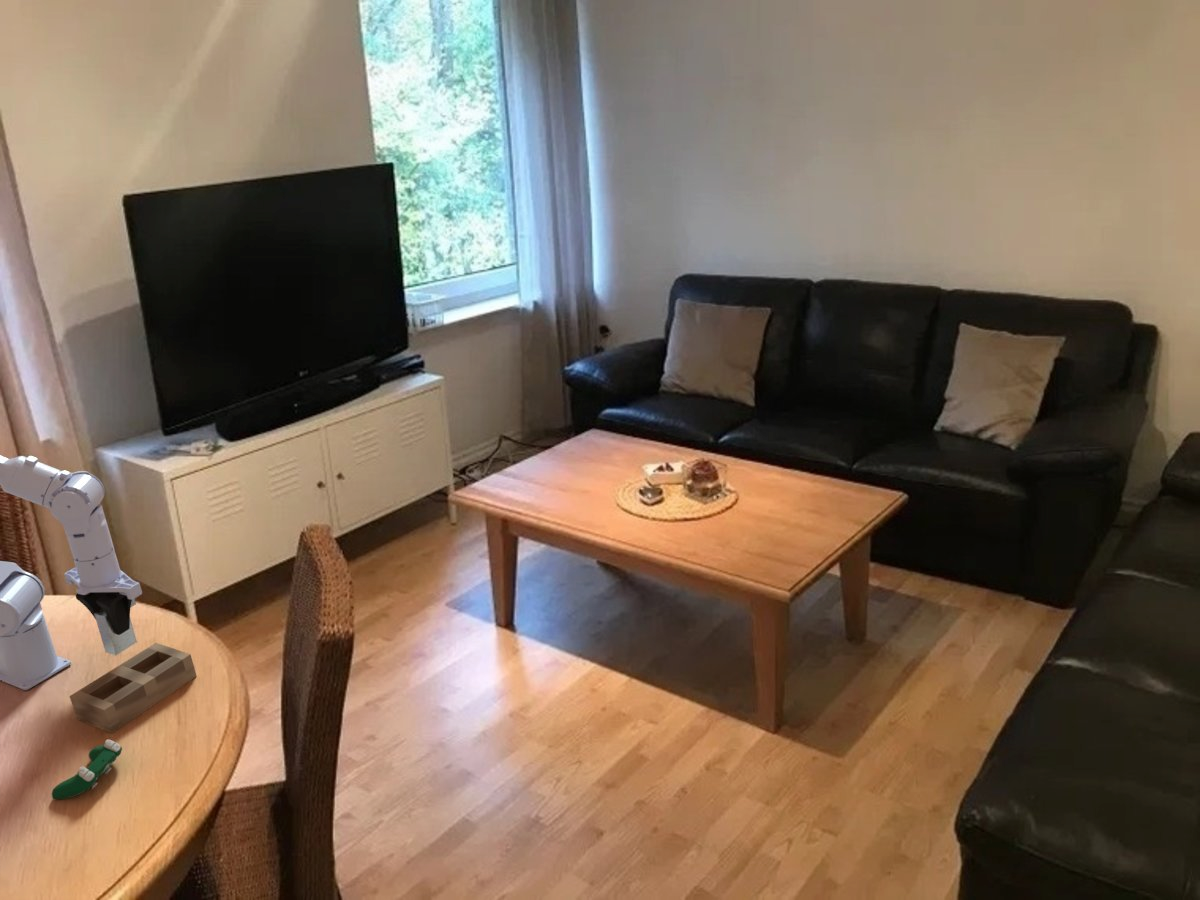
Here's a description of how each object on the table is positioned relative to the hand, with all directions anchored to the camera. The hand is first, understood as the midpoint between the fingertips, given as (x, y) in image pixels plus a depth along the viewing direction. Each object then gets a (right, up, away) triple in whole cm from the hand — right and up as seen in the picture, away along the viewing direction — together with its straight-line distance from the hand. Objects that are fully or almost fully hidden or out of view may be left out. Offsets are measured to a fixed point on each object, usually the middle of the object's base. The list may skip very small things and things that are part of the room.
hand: (116, 629), depth 164 cm
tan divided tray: (+6, -9, -7) cm, 13 cm away
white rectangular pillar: (0, -3, +1) cm, 3 cm away
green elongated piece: (+8, -16, -24) cm, 30 cm away
